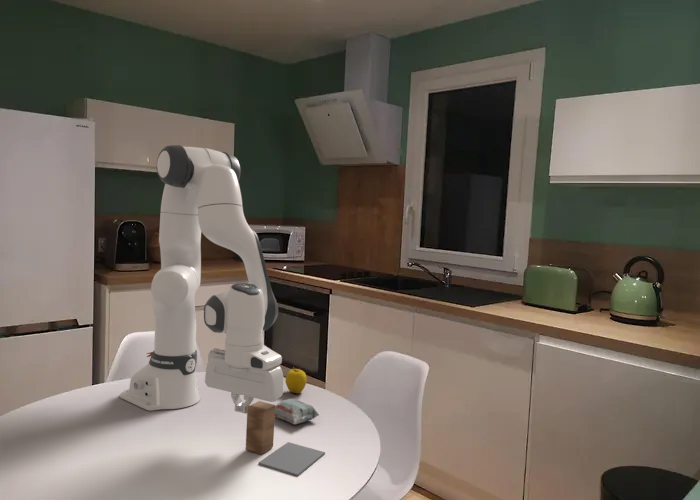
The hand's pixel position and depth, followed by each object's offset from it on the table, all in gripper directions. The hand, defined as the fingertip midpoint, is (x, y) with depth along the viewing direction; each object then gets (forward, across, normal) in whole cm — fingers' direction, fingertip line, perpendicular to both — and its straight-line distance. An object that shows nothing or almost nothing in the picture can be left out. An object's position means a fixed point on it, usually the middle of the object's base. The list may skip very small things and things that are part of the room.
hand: (241, 411), depth 122 cm
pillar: (+8, +5, 0) cm, 9 cm away
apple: (+8, -8, +37) cm, 39 cm away
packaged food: (+8, +2, +19) cm, 20 cm away
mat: (+8, +14, 0) cm, 16 cm away
